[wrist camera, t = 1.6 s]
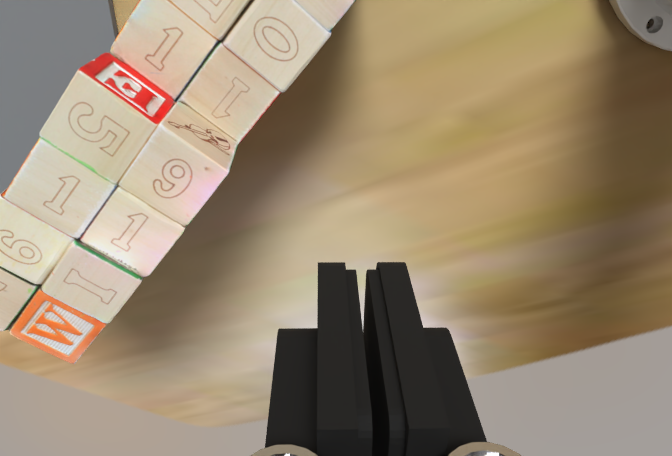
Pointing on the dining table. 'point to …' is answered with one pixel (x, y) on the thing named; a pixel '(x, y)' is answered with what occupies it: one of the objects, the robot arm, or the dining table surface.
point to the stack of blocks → (140, 155)
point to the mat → (43, 65)
